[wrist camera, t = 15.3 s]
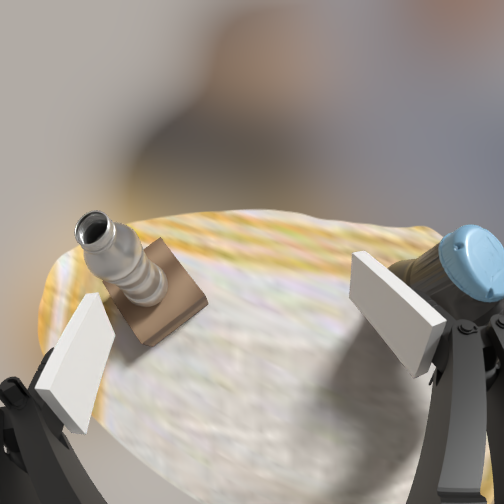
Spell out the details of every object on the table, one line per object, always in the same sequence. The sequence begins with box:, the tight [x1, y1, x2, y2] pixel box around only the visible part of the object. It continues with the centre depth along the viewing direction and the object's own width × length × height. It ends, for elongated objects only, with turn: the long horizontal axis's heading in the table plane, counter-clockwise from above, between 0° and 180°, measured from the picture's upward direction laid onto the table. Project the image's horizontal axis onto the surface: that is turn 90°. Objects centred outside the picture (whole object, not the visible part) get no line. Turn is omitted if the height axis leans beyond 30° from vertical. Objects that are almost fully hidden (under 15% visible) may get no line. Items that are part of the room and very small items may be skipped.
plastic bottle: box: [74, 210, 168, 307], centre depth 31 cm, size 6×7×20 cm
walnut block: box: [102, 237, 209, 347], centre depth 43 cm, size 12×12×6 cm
